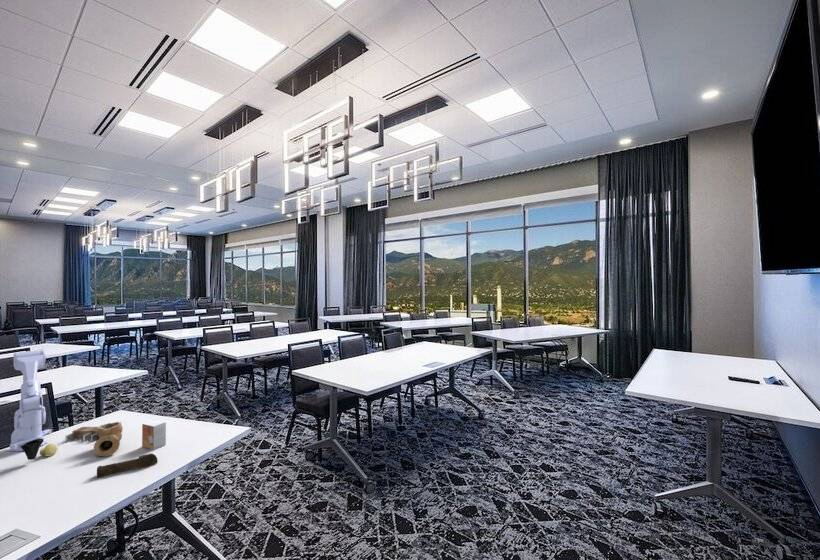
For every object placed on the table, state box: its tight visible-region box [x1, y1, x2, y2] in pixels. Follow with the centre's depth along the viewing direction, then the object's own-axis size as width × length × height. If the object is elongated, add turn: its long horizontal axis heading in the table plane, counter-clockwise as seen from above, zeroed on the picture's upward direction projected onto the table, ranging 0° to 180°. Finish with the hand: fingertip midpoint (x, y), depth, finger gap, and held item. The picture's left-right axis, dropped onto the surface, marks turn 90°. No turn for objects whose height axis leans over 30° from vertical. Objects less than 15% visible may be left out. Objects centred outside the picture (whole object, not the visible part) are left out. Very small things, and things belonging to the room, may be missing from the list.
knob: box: [39, 442, 58, 457], centre depth 154 cm, size 5×5×5 cm
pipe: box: [93, 421, 123, 457], centre depth 159 cm, size 9×16×10 cm, turn 35°
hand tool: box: [96, 453, 159, 478], centre depth 142 cm, size 19×4×5 cm, turn 118°
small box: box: [141, 419, 167, 451], centre depth 162 cm, size 8×6×10 cm
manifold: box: [64, 426, 100, 443], centre depth 171 cm, size 18×9×4 cm, turn 90°
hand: (31, 458), depth 147 cm, fingers closed
